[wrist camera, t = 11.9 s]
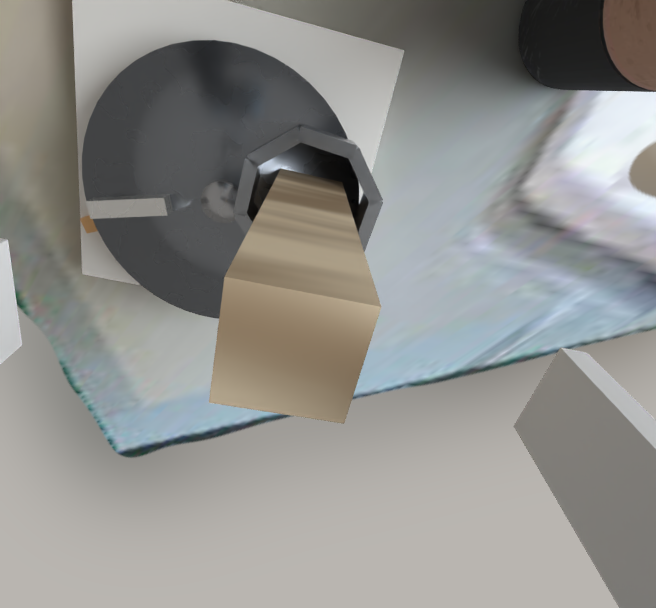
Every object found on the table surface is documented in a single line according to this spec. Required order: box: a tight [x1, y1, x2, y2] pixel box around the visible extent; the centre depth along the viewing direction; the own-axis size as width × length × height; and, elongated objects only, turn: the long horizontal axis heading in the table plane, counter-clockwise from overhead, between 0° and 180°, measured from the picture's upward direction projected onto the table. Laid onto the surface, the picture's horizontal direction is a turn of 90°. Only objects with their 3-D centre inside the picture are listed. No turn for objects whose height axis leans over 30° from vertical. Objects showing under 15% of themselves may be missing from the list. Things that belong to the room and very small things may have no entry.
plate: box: [72, 0, 405, 286], centre depth 27 cm, size 18×18×2 cm
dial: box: [82, 40, 383, 318], centre depth 24 cm, size 16×16×5 cm
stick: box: [209, 168, 381, 423], centre depth 17 cm, size 4×4×16 cm
